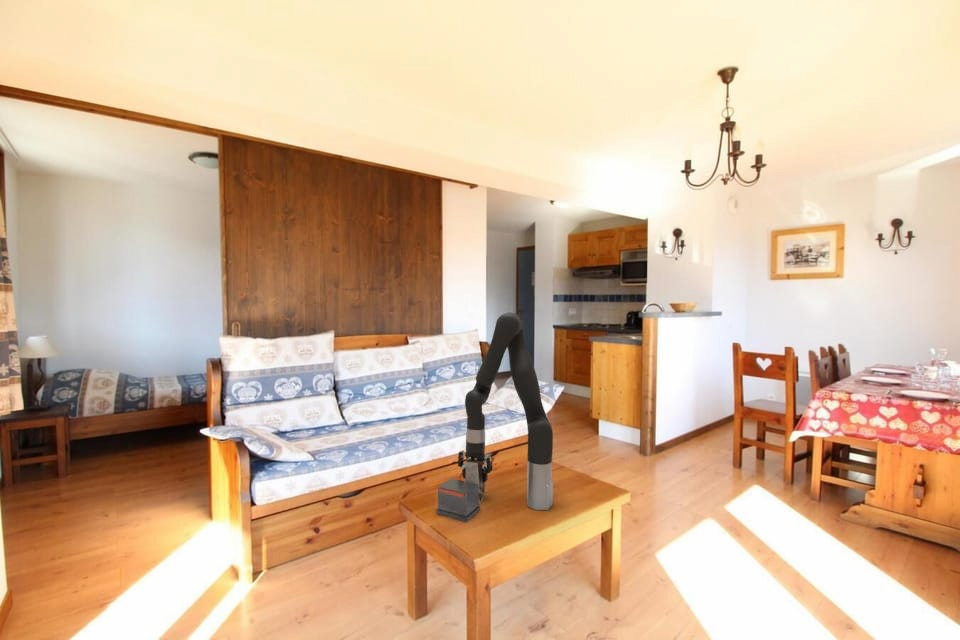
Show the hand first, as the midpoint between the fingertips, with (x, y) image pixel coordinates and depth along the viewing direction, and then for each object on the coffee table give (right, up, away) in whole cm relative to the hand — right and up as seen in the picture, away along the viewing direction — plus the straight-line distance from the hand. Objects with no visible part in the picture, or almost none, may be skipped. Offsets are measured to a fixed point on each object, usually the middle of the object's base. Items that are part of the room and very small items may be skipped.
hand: (474, 480), depth 177 cm
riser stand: (-6, -8, -11) cm, 15 cm away
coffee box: (0, -8, +1) cm, 8 cm away
